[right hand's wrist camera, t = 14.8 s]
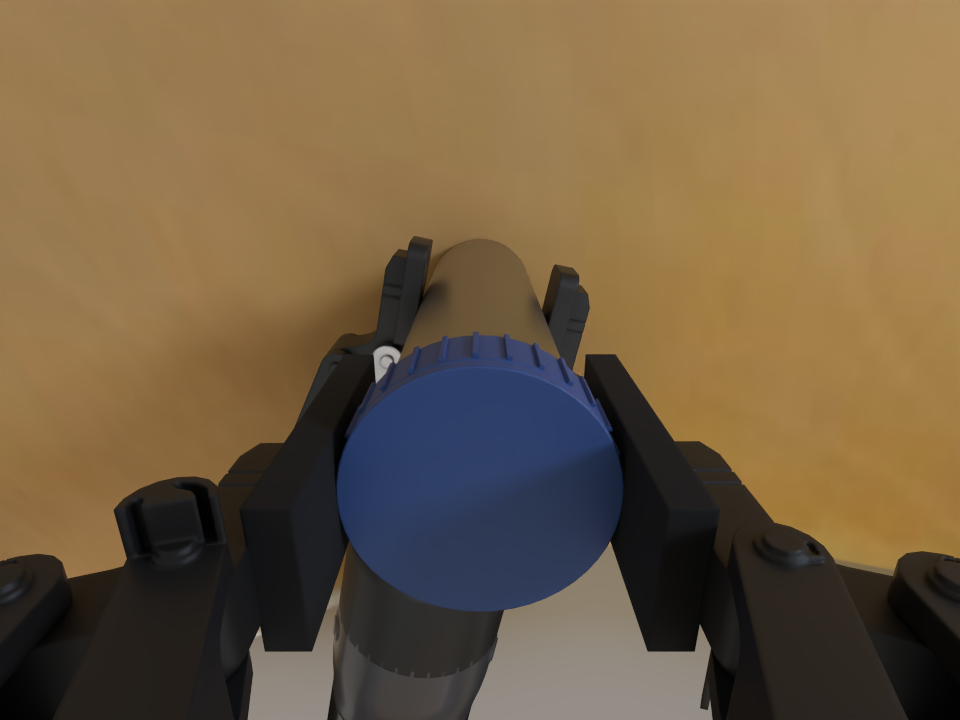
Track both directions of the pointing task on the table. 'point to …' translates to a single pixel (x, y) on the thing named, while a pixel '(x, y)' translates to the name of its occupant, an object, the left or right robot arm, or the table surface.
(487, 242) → the jar
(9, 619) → the right robot arm
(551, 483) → the lid
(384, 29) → the table surface
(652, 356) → the table surface
